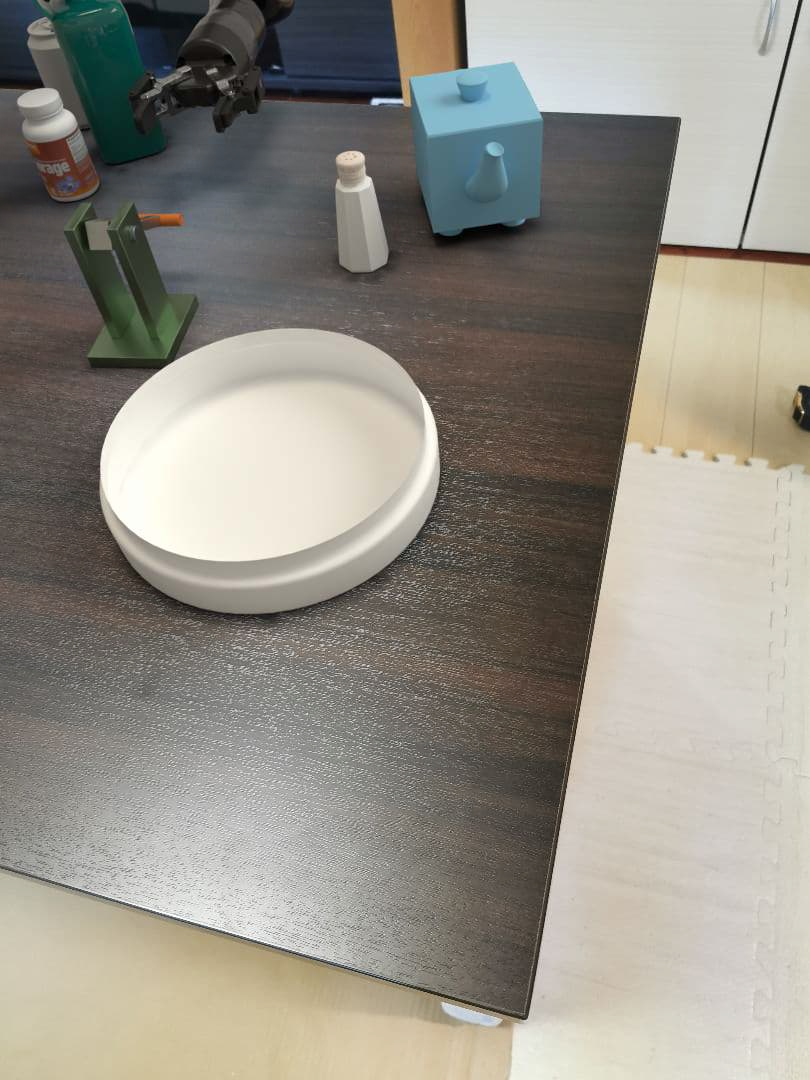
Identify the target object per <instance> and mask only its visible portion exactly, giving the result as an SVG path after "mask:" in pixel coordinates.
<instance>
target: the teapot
mask: <svg viewBox="0 0 810 1080" xmlns="http://www.w3.org/2000/svg"><path fill="white" fill-rule="evenodd" d="M408 85H409V98H410V99H409V100H410V110H411V111H410V112H411V122H412V134H413V146H414V159H415V170H416V174H417V178H418V182H419V186H420V189H421V193H422V196H423V201H424V204H425V208H426V211H427V215H428V218H429V221H430V225H431V229H432V233H433V234H436V233H437V234H439V235H442V236H447V237H452V236H457V235H459V234H461V233H462V232H463V230H464V229H469V228H475V227H476V228H477V227H483V226H489V225H495V224H502V225H504V226H506V227H517V226H520V225H522V224H523V223H524V222H525V221H526V220H527V219H535V218H539V217H540V216H541V193H542V192H541V191H542V167H543V142H544V141H543V140H544V118H543V116H542V114H541V112H540V109H539V107H538V106H537V104H536V102H535V100H534V98H533V96H532V94H531V91H530V90H529V87H528V86H527V84H526V82H525V80H524V78H523V77H522V74H521V72H520V71H519V68H518V66H517V65H516V63H515V62H514V61H509V62H503V63H496V64H489V65H483V66H476V67H468V68H458V69H456V70H449V71H443V72H436V73H429V74H424V75H423V74H422V75H418V76H410V77H409V78H408Z"/></svg>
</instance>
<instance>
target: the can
mask: <svg viewBox="0 0 810 1080" xmlns="http://www.w3.org/2000/svg"><path fill="white" fill-rule="evenodd" d="M26 31H27V34H29V37H28V40H27V42H26V44H27V47H28V50H29V52H30V54H31V56H32V60H33V62H34V64H35V67H36V69H37V71H38V74H39V77H40V79H41V82H42V83H43V86H44V88H52V89H55V90H57V91H58V93H59V95H60V98H61V100H62V103H63V109H66V110H68V111H70V112H71V113H72V114H73V115H74V117H75V119H76V121H77V123H78V126H79V129H80V130H84V129H86V130H87V129H90V126H89V124H88V121H87V118H86V116H85V113H84V110H83V108H82V105H81V102H80V100H79V97H78V95H77V92H76V89H75V87H74V84H73V81H72V79H71V76H70V73H69V71H68V68H67V66H66V63H65V60H64V58H63V55H62V52H61V50H60V47H59V44H58V42H57V39H56V37H55V34H54V31H53V29H52V26H51V23H50V21H49V19H48V18H47V17H45V16H44V17H42V18H39V19H37V20H34V21H33V22H32V23H30V24H29V25H28V27H27V29H26Z"/></svg>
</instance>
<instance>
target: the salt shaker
mask: <svg viewBox="0 0 810 1080" xmlns="http://www.w3.org/2000/svg"><path fill="white" fill-rule="evenodd" d="M365 161H366V157H365V154H363V153H362V152H361V151H357V150H347V151H344V152H341V153H340V154H338V155H337V156H336V158H335V165H336V167H337V174H338V176H339V177H338V178H337V180H336V184H335V187H334V188H335V189H334V190H335V211H336V227H337V228H336V229H337V230H336V231H337V246H338V247H337V248H338V260H339V265H340V266H341V267H342V268H344V269H345V270H347V271H348V272H350V273H354V274H356V273H357V274H358V273H359V274H360V273H372V272H375V271H376V270H378V269H379V268H381V267H384V266H385V265H386V264H387V263H388V259H389V251H390V250H389V246H388V240H387V237H386V233H385V229H384V224H383V220H382V216H381V211H380V207H379V203H378V198H377V195H376V190H375V186H374V182H373V179H372V177H370V176H369V175H367V173H366V171H367V170H366V164H365Z"/></svg>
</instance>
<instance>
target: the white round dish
mask: <svg viewBox="0 0 810 1080" xmlns="http://www.w3.org/2000/svg"><path fill="white" fill-rule="evenodd" d="M438 437H439V436H438V429H437V424H436V420H435V417H434V415H433V412H432V409H431V406H430V405H429V402H428V401H427V400H426V397H425V395H424V394H423V393H422V392H421V389H419V387H418V386H417V385H416V383H415V382H414V380H413V379H412V377H411V376H410V374H409V373H408V372H407V371H406V369H404V367H403V366H401V364H400V363H399V362H398V361H397V360H395V358H393V357H392V356H390V355H389V354H387V353H386V352H384V351H383V350H381V349H380V348H378V347H376V346H374V345H372V344H370V343H368V342H367V341H364V340H362V339H359V338H356V337H353V336H351V335H346V334H343V333H340V332H334V331H330V330H321V329H316V328H315V329H314V328H301V327H295V328H272V329H263V330H258V331H251V332H246V333H242V334H238V335H237V334H236V335H234V336H231V337H227V338H224V339H221V340H217V341H215V342H212V343H209V344H207V345H204V346H202V347H199V348H197V349H195V350H193V351H191V352H188V353H187V354H185V355H183V356H181V357H179V358H177V359H176V360H173V362H172V363H171V364H169V365H167V366H166V367H165V368H161V369H160V370H159V371H157V372H156V373H155V374H153V375H152V376H151V377H149V378H148V379H147V380H146V381H145V382H144V383H143V384H142V385H140V386H139V388H137V390H135V391H134V392H133V393H132V395H131V396H130V397H128V399H127V400H126V401H125V403H124V404H123V405H122V407H121V408H120V410H119V411H118V412H117V414H116V416H115V417H114V419H113V421H112V423H111V424H110V426H109V429H108V431H107V433H106V436H105V438H104V443H103V446H102V449H101V454H100V460H99V461H100V463H99V464H100V466H99V467H100V472H99V473H100V477H99V499H100V505H101V506H100V507H101V510H102V514H103V516H104V519H105V522H106V525H107V527H108V529H109V530H110V533H111V534H112V536H113V538H114V540H115V541H116V543H117V545H118V547H119V548H120V550H121V552H122V554H123V555H124V557H125V558H126V560H127V561H128V563H129V564H130V566H131V567H132V568H133V569H134V570H135V571H136V572H137V574H139V575H140V577H141V578H143V580H144V581H146V582H147V583H149V584H150V585H151V586H152V587H154V588H155V589H156V590H157V591H160V592H161V593H163V594H165V595H166V596H168V597H170V598H172V599H174V600H177V601H179V602H181V603H183V604H186V605H189V606H192V607H196V608H198V609H203V610H207V611H211V612H215V613H216V612H217V613H225V614H232V615H233V614H234V615H259V614H260V615H261V614H274V613H280V612H287V611H293V610H297V609H300V608H305V607H309V606H312V605H315V604H318V603H322V602H325V601H327V600H330V599H332V598H334V597H337V596H339V595H341V594H344V593H346V592H348V591H350V590H352V589H354V588H355V587H358V586H360V585H361V584H364V583H365V582H366V581H368V580H369V579H371V578H372V577H374V576H375V575H377V574H378V573H380V572H381V571H382V570H383V569H385V568H386V567H387V566H388V565H390V564H391V563H392V562H393V561H395V560H396V558H398V557H399V556H400V555H401V554H402V553H403V552H404V551H405V550H406V549H407V548H408V546H409V545H410V544H411V543H412V541H413V540H414V539H415V538H416V536H417V535H418V534H419V532H420V531H421V529H422V527H423V526H424V525H425V523H426V522H427V519H428V518H429V515H430V513H431V511H432V508H433V505H434V503H435V500H436V498H437V494H438V488H439V485H440V474H441V463H440V462H441V461H440V449H439V438H438Z"/></svg>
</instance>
